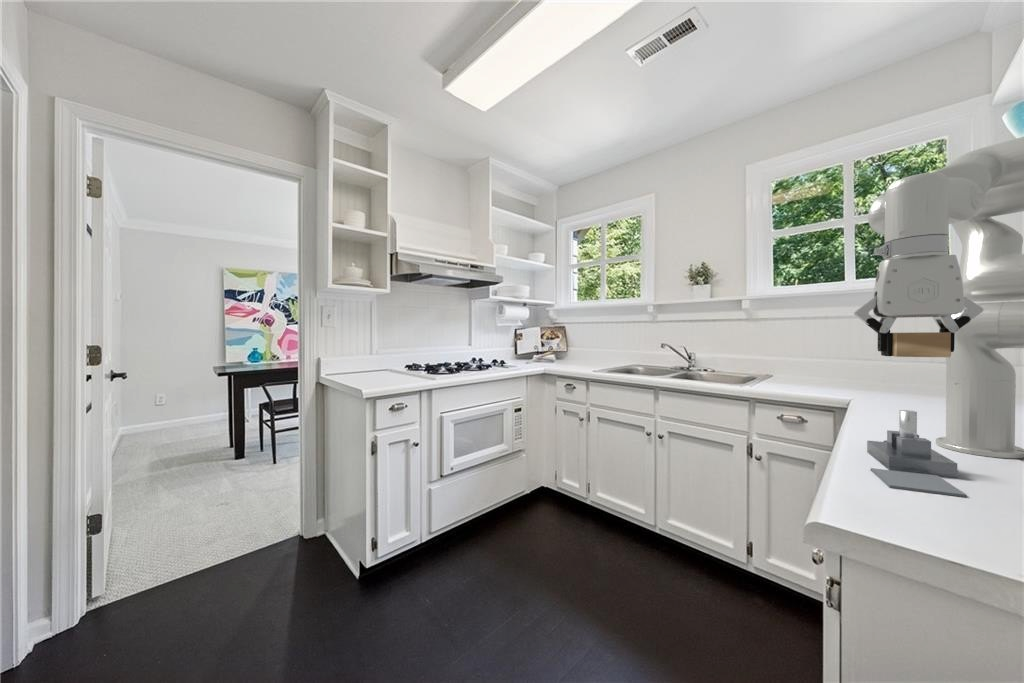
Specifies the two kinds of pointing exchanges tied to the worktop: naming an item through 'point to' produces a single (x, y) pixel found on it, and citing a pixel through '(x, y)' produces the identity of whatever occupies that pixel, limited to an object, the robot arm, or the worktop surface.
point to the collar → (922, 344)
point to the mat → (917, 482)
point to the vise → (910, 450)
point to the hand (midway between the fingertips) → (914, 355)
